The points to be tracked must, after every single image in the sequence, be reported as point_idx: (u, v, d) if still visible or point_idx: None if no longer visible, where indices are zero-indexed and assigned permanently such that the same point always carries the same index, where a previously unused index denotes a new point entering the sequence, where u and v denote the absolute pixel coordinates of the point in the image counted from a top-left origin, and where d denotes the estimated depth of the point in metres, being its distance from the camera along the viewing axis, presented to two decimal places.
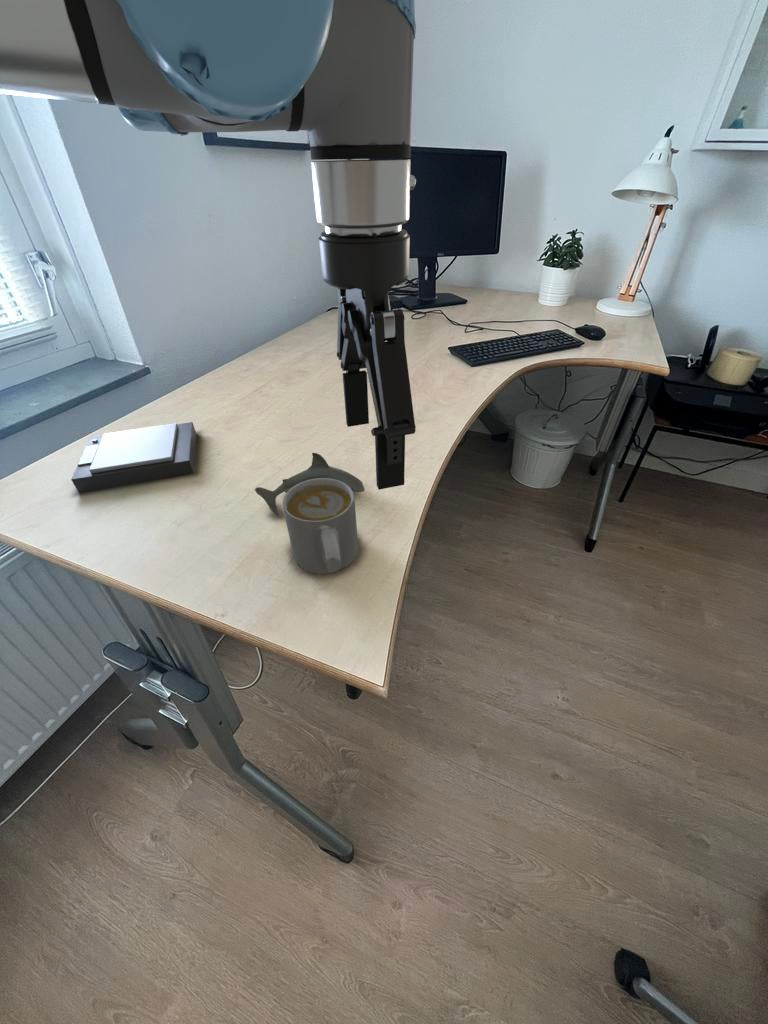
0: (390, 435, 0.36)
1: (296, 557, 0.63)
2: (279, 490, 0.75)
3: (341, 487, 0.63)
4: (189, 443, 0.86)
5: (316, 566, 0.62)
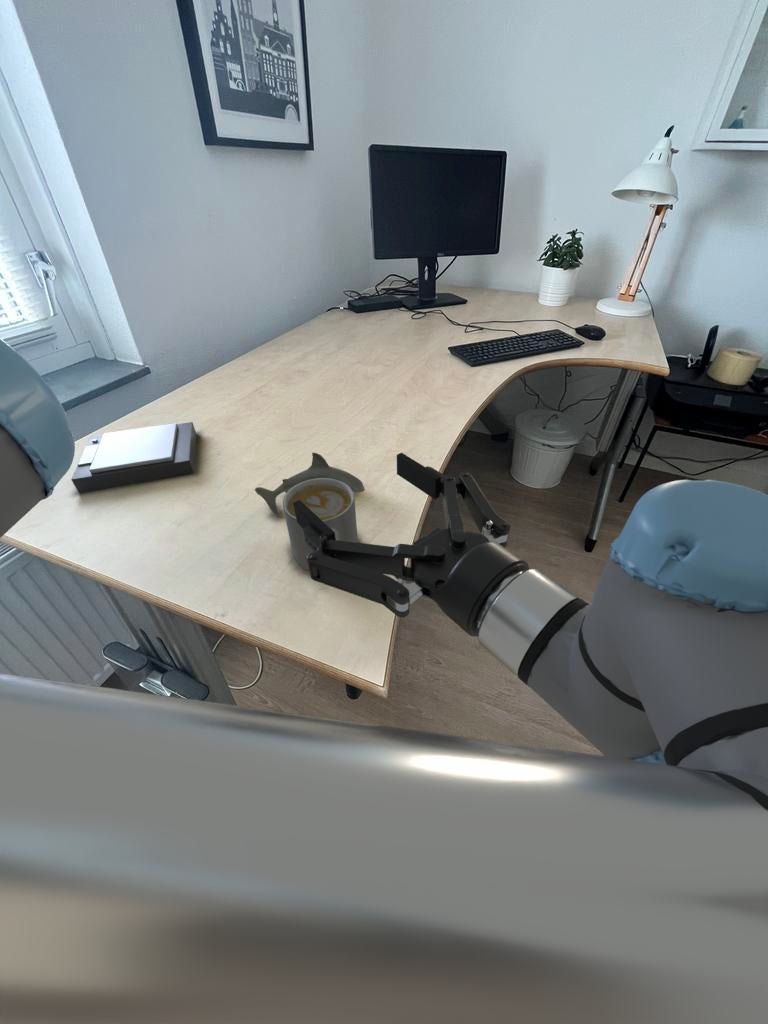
0: (307, 560, 0.38)
1: (296, 557, 0.63)
2: (279, 490, 0.75)
3: (341, 487, 0.63)
4: (189, 443, 0.86)
5: None
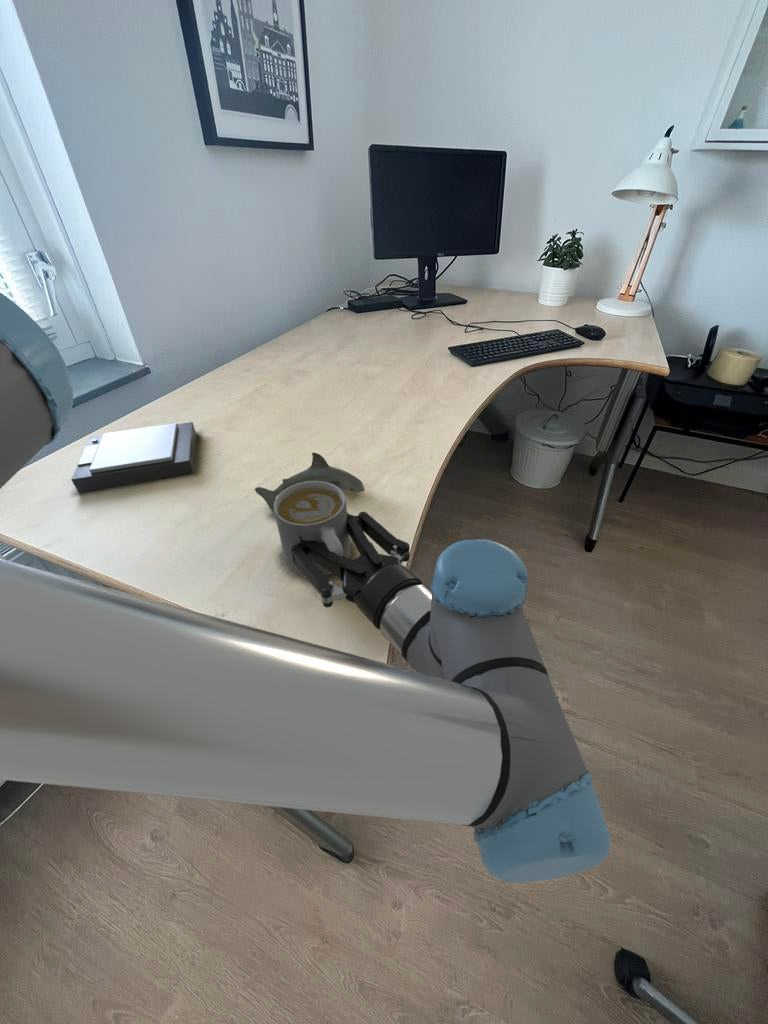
0: None
1: (293, 565, 0.62)
2: (279, 490, 0.75)
3: (327, 488, 0.63)
4: (189, 443, 0.86)
5: None
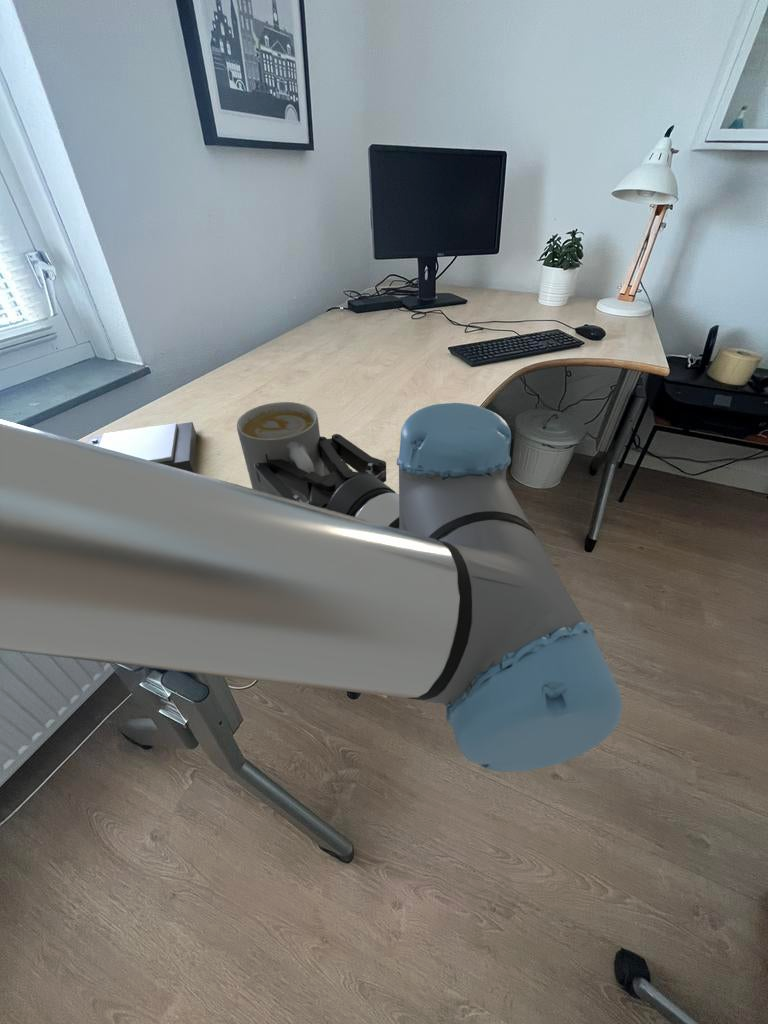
0: (255, 466, 0.51)
1: None
2: None
3: (297, 409, 0.57)
4: (189, 443, 0.86)
5: None
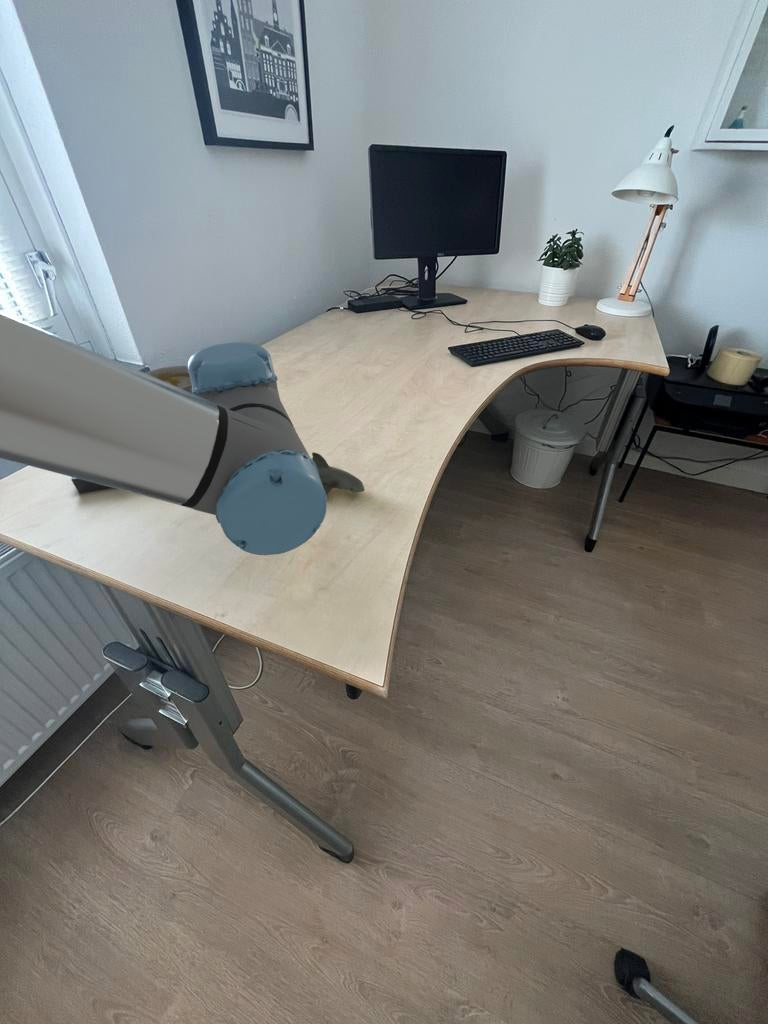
0: None
1: None
2: None
3: None
4: None
5: None
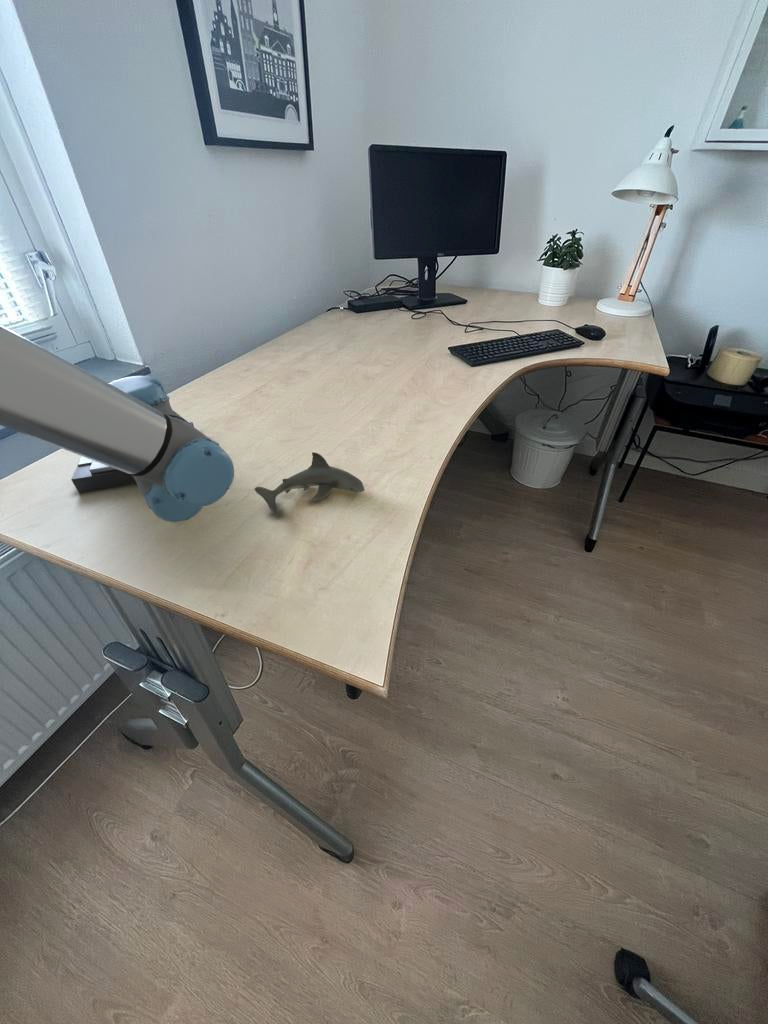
0: None
1: None
2: (279, 490, 0.75)
3: None
4: None
5: None
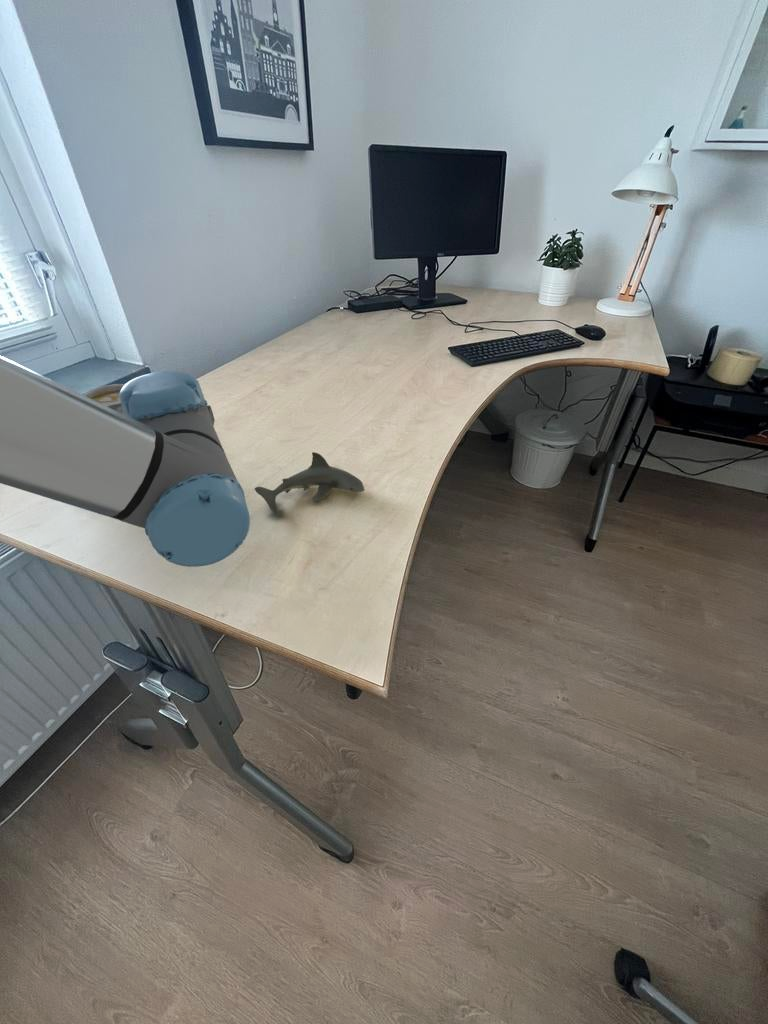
0: None
1: None
2: (279, 490, 0.75)
3: None
4: None
5: None
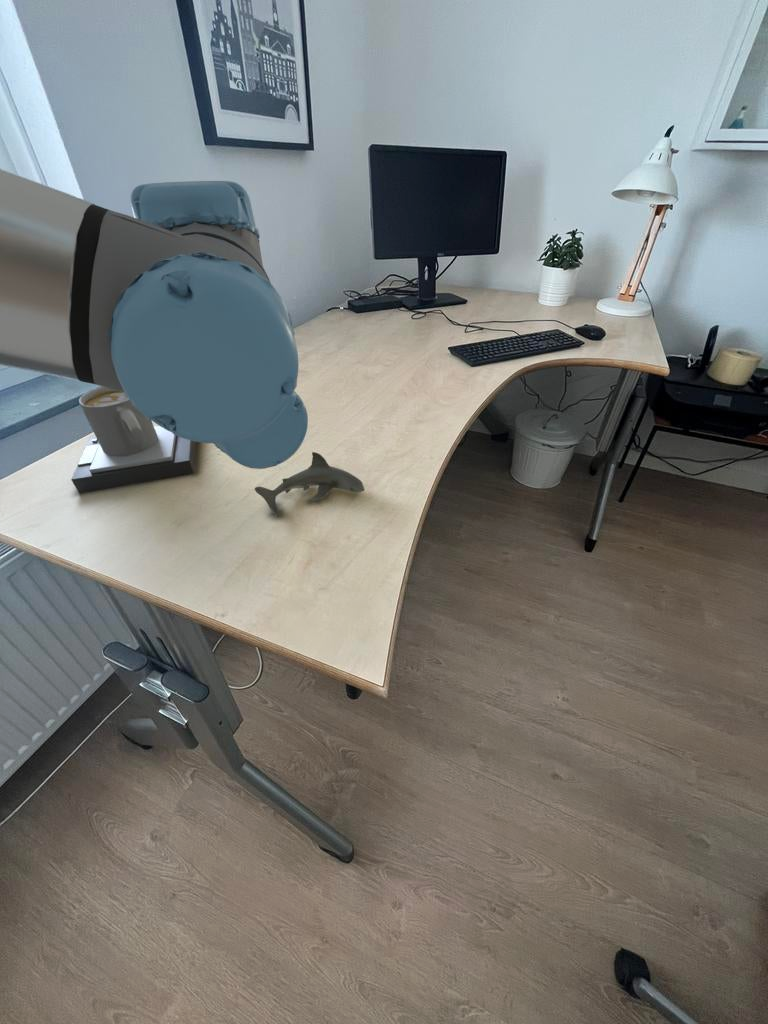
0: None
1: (106, 448, 0.81)
2: (279, 490, 0.75)
3: None
4: (189, 443, 0.86)
5: (125, 448, 0.81)
